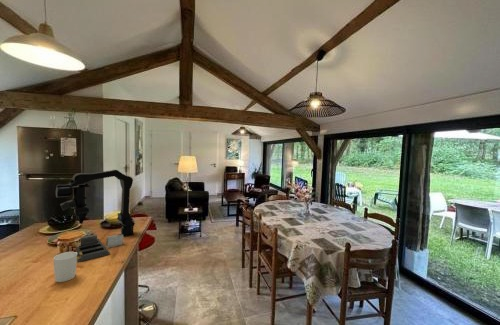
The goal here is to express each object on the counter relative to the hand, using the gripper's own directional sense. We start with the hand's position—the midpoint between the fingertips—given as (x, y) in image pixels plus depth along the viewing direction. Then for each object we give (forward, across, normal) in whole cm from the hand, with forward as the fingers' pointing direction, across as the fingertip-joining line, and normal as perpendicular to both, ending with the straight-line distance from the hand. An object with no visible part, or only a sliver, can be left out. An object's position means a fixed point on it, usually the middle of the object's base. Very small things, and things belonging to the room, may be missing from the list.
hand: (79, 221), depth 128 cm
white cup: (+14, +37, -10) cm, 40 cm away
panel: (+14, +12, +15) cm, 24 cm away
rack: (+14, +13, +3) cm, 19 cm away
